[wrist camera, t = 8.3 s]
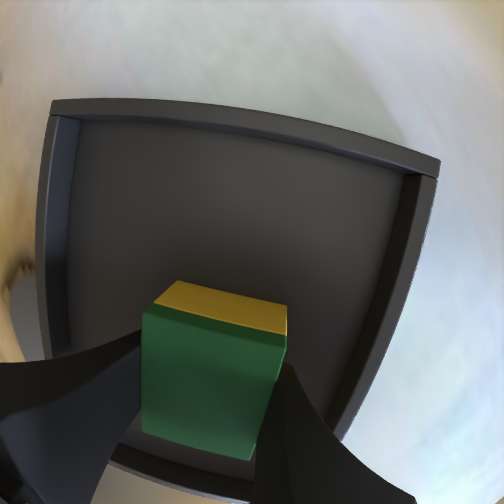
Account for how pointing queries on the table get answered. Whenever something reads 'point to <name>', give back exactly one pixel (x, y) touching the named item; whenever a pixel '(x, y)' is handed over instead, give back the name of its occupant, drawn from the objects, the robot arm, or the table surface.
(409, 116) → the table surface
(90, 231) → the tray
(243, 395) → the sponge
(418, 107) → the table surface
